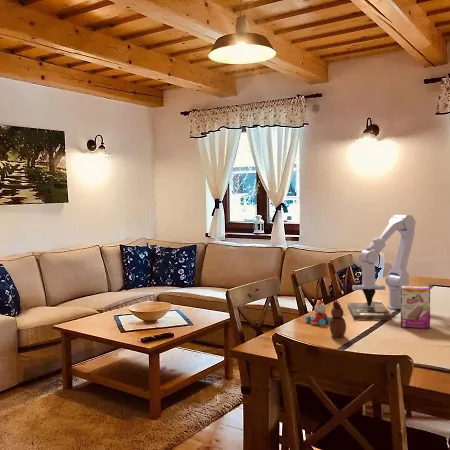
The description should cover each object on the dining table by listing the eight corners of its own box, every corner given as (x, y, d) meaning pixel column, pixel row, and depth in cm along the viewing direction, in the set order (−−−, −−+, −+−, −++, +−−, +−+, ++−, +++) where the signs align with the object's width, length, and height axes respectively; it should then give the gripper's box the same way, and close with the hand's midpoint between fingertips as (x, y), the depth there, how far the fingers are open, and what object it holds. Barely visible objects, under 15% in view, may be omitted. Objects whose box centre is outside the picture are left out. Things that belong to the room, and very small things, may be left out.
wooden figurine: (328, 334, 192) (327, 296, 191) (342, 333, 193) (341, 295, 192) (333, 339, 185) (332, 300, 185) (348, 338, 186) (347, 299, 185)
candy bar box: (400, 327, 197) (400, 287, 196) (400, 324, 202) (400, 285, 201) (430, 329, 193) (430, 288, 192) (429, 326, 198) (429, 286, 197)
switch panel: (381, 306, 233) (381, 302, 233) (392, 319, 209) (391, 314, 209) (347, 307, 235) (347, 302, 235) (353, 319, 212) (353, 314, 211)
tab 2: (383, 309, 218) (383, 304, 218) (384, 311, 214) (384, 306, 214) (374, 309, 219) (373, 304, 219) (375, 311, 215) (375, 306, 215)
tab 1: (380, 305, 226) (379, 300, 226) (381, 307, 222) (381, 302, 222) (371, 305, 227) (371, 300, 227) (372, 307, 223) (372, 302, 223)
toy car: (303, 323, 210) (303, 300, 210) (317, 319, 216) (316, 297, 215) (320, 327, 203) (319, 303, 202) (334, 323, 208) (333, 300, 208)
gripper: (353, 277, 221) (354, 307, 222) (386, 277, 219) (387, 307, 220) (351, 275, 228) (352, 303, 229) (383, 274, 226) (384, 303, 227)
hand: (369, 305), depth 225 cm, fingers closed
